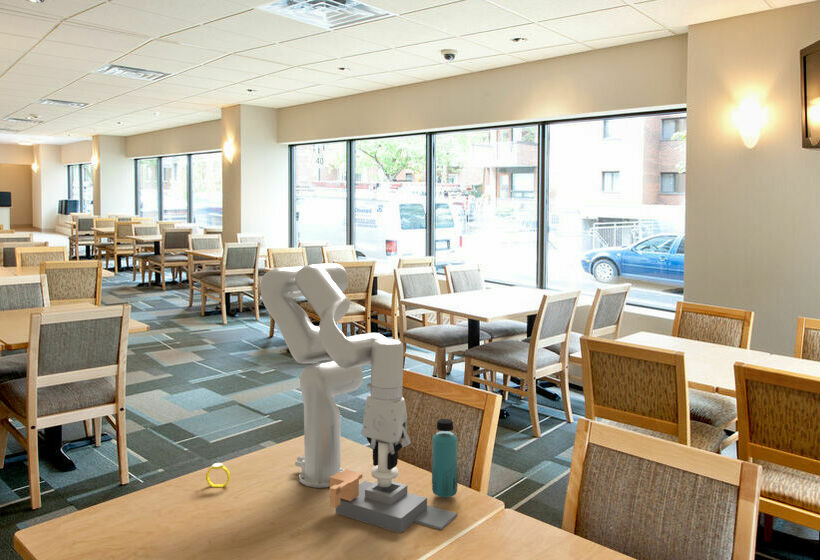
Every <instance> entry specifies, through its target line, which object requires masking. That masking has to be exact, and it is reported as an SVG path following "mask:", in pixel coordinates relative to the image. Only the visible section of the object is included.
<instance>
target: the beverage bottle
mask: <svg viewBox="0 0 820 560" xmlns="http://www.w3.org/2000/svg"><path fill="white" fill-rule="evenodd" d="M436 430H437V431H438V432H436V433H435V434H434V435H433V436H432V438H431V439H432V459H431V461H432V463H431V466H432V467H431V488H432V489H431V491H432V493H433V494H434V495H435V496H437V497H441V498H450V497H453V496H456V494H457V492H458V483H459V482H458V475H459V474H458V472H459V471H458V470H459V469H458V467H459V466H458V458H459V457H458V437H457V435H456V434H454V433H453V432H452V431H453V430H454V422H453V420H452V419H450V418H441V419H438V420H437V422H436Z"/></svg>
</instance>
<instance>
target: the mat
mask: <svg viewBox="0 0 820 560" xmlns="http://www.w3.org/2000/svg"><path fill="white" fill-rule="evenodd" d="M457 516H458V513H457V512H454V511H451V510H446V509H443V508H440V507H435V506H432V505H429V504H427V510H426V511H424V512H423V513H422V514H421V515H420V516H418V517H417V518H416V519H415V520H414V523H416V524H420V525H423V526H426V527H430V528H432V527H433V529H435V530H436V529H437V530H439V531H442V530H443V529H444V528H445V527H446V526H448V525H449V522H450V523H451V522H452V521H453V520H454V519H455V518H456V517H457Z"/></svg>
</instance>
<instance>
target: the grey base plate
mask: <svg viewBox="0 0 820 560" xmlns="http://www.w3.org/2000/svg"><path fill="white" fill-rule="evenodd" d="M377 482H378V480H377V481H376V482H374V483H373V482H370V481H367V480H364V481H362V482H361V483H359V496H357V497H356V498H354V499H353V500H351V501H348V500H345V499H341V498H340V505H338V506H337V507H335V514H336V515H340V516H343V517H347V518H350V519H353V520H356V521H360V522H363V523H366V524H369V525H372V526H377V527H379V528H382V529H386V530H389V531H391V532H396V533H399V534H402V533H403V532H404V531H406V530H407V529H408V528H410V527H411V526H412V525H413V524H414V523H415V522H414V520H415V519H416V518H417V517H418V516H420V515H421V514H422V513H423V512H424V511H426V510H427V505H428V497H427V496H421V495H418V494H414V493H410V492H408V484H404V483H401V482H396V481H393V480H392V485H391V486H389V487H380V486H378V484H377Z"/></svg>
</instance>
